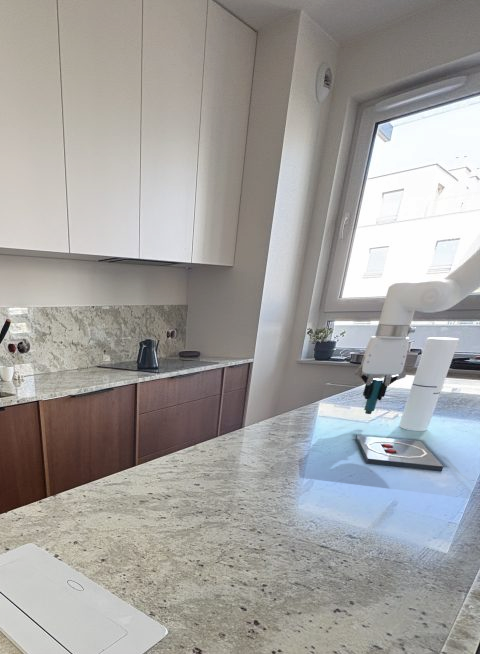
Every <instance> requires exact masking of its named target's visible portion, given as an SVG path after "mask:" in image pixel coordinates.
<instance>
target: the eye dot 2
mask: <svg viewBox="0 0 480 654" xmlns="http://www.w3.org/2000/svg"><path fill="white" fill-rule="evenodd" d="M386 453H395V450H393V449H387V450H386Z"/></svg>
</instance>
